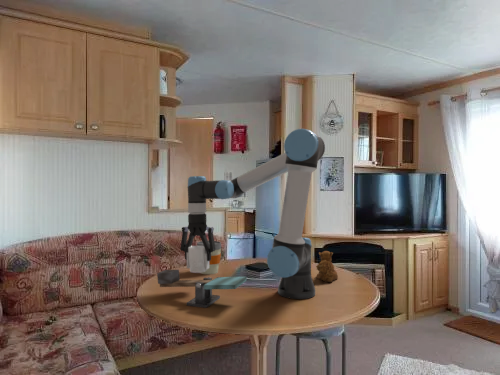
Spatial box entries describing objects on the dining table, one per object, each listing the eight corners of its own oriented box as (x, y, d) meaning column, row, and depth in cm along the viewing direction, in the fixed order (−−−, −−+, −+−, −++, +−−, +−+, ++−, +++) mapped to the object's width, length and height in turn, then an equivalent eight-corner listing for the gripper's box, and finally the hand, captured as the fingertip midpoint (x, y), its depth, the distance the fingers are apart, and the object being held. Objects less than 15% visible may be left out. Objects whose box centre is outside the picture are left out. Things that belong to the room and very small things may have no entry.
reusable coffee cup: (200, 269, 188) (200, 240, 188) (223, 269, 186) (223, 241, 186) (193, 274, 176) (193, 244, 176) (218, 275, 174) (218, 245, 174)
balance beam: (246, 280, 135) (245, 266, 136) (235, 289, 124) (233, 273, 124) (170, 281, 146) (169, 268, 146) (153, 289, 134) (152, 275, 135)
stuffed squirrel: (337, 277, 173) (338, 249, 173) (337, 284, 159) (337, 255, 159) (317, 275, 176) (317, 248, 176) (314, 283, 162) (315, 254, 162)
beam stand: (219, 298, 139) (219, 277, 139) (206, 307, 127) (206, 285, 127) (201, 296, 141) (201, 275, 141) (186, 305, 130) (186, 283, 130)
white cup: (204, 273, 144) (203, 248, 144) (185, 273, 145) (185, 248, 145) (210, 269, 152) (209, 245, 152) (192, 268, 153) (192, 245, 153)
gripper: (223, 212, 149) (224, 267, 149) (180, 212, 155) (180, 265, 155) (216, 214, 142) (217, 271, 142) (170, 213, 148) (171, 268, 148)
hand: (198, 268), depth 148 cm, fingers closed on white cup, 8 cm apart
